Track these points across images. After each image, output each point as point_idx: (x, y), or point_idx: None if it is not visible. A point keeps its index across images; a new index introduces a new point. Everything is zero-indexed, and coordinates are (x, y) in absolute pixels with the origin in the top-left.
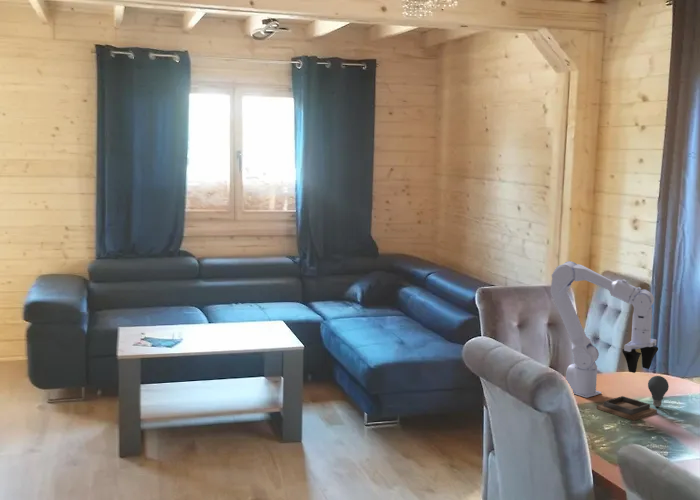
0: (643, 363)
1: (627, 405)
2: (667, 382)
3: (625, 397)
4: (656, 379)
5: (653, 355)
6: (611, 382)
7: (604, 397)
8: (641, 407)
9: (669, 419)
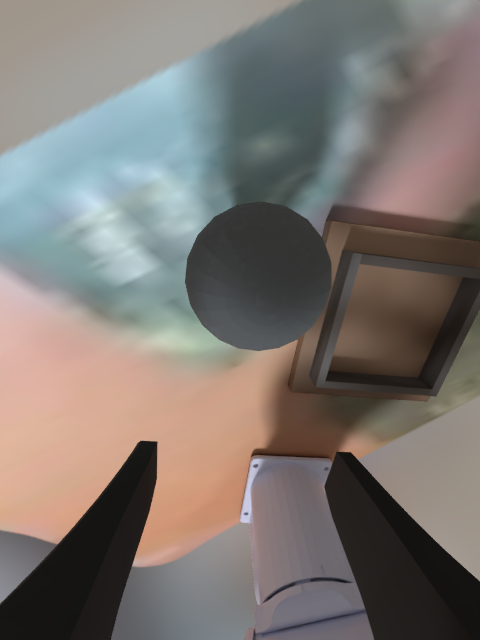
0: (146, 515)
1: (357, 335)
2: (242, 214)
3: (326, 371)
4: (317, 290)
5: (41, 600)
6: None
7: (280, 433)
8: (422, 261)
9: (384, 125)
